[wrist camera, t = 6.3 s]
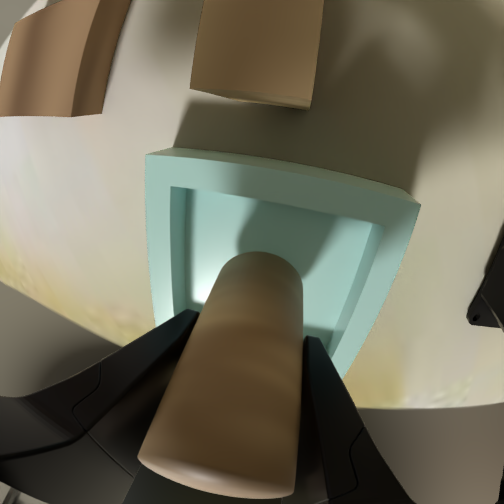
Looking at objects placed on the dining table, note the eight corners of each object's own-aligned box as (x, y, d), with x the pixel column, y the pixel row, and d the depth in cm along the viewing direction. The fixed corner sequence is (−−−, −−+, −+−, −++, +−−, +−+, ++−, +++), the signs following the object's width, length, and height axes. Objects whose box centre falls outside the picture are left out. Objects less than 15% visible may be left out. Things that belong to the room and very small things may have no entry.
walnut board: (136, -1, 7) (106, -15, 5) (106, 113, 10) (70, 117, 8) (42, 25, 7) (15, 23, 5) (24, 110, 10) (-4, 116, 8)
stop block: (324, -23, 5) (329, -87, 2) (308, 110, 8) (311, 100, 5) (258, -28, 6) (229, -90, 2) (238, 101, 9) (189, 88, 5)
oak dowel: (312, 260, 9) (316, 479, 3) (292, 328, 11) (275, 502, 4) (220, 243, 9) (118, 434, 3) (215, 313, 11) (152, 475, 5)
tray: (401, 188, 9) (420, 204, 7) (337, 355, 13) (338, 384, 11) (172, 147, 10) (145, 154, 8) (174, 319, 14) (158, 344, 12)
